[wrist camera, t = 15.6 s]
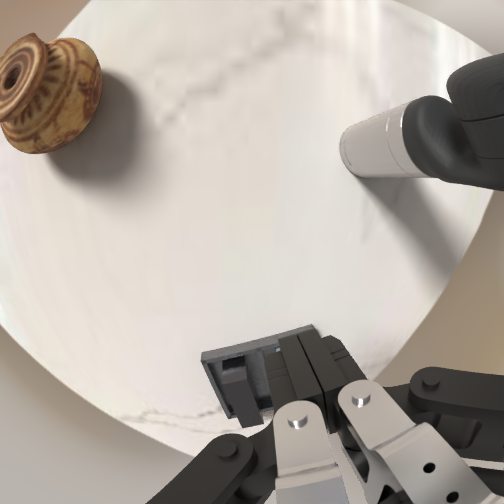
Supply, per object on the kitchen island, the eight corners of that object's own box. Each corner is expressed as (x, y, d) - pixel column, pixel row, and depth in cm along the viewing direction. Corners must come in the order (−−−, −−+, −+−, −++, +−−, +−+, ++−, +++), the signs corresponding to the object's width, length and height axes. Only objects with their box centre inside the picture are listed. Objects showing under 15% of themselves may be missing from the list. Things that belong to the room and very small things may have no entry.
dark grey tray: (311, 324, 46) (325, 346, 39) (321, 387, 50) (333, 411, 43) (201, 352, 46) (198, 378, 38) (228, 411, 50) (229, 437, 42)
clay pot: (134, 113, 33) (13, 114, 15) (68, 165, 40) (-24, 189, 22) (113, 26, 28) (18, 3, 10) (52, 85, 35) (-29, 88, 17)
